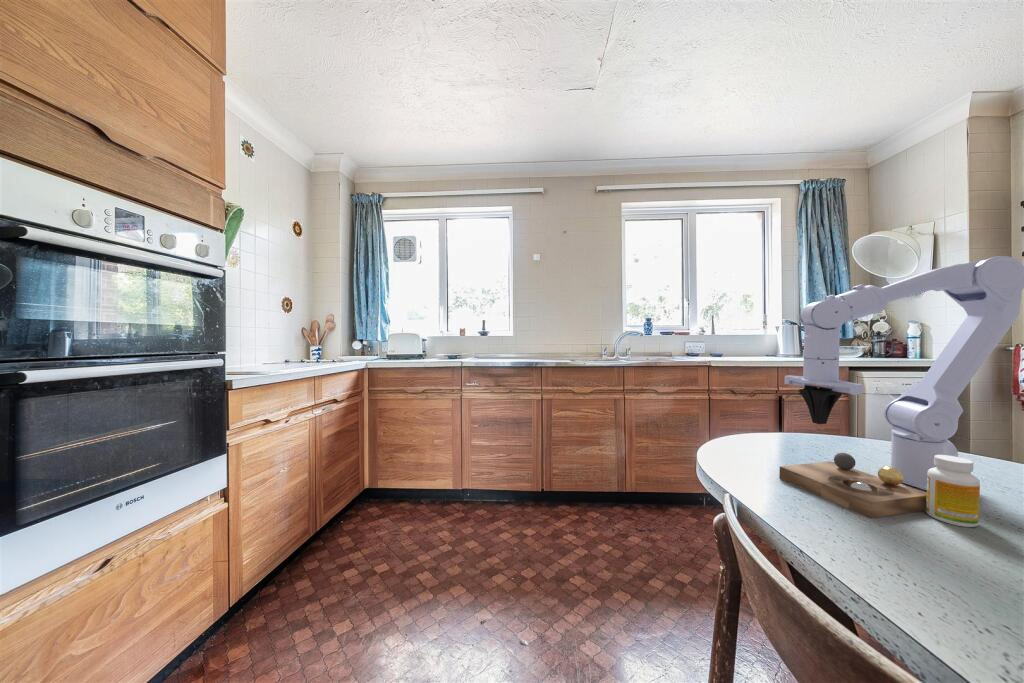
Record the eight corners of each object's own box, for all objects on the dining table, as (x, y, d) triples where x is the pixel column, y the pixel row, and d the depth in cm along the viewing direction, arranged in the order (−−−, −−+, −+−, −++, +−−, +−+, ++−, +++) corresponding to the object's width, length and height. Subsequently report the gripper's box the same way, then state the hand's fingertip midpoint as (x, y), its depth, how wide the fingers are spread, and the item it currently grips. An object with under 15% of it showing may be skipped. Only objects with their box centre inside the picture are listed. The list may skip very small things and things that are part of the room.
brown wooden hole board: (830, 473, 78) (831, 461, 77) (931, 509, 62) (931, 494, 62) (779, 478, 75) (779, 466, 75) (870, 517, 59) (871, 502, 59)
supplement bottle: (990, 530, 56) (993, 466, 55) (947, 526, 57) (949, 463, 56) (955, 512, 61) (957, 454, 61) (916, 509, 62) (918, 452, 62)
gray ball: (841, 465, 75) (842, 450, 75) (859, 471, 72) (860, 455, 72) (829, 466, 74) (829, 451, 74) (846, 472, 71) (847, 456, 71)
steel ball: (882, 498, 64) (867, 482, 66) (873, 492, 63) (858, 475, 65) (863, 507, 65) (849, 491, 68) (854, 501, 64) (840, 484, 67)
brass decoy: (886, 480, 68) (886, 463, 68) (908, 487, 65) (908, 469, 64) (872, 481, 67) (873, 464, 67) (894, 489, 64) (894, 471, 64)
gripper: (773, 356, 84) (772, 416, 84) (843, 362, 69) (841, 433, 70) (799, 356, 85) (798, 414, 85) (872, 361, 71) (870, 431, 71)
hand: (819, 423), depth 78 cm, fingers closed
